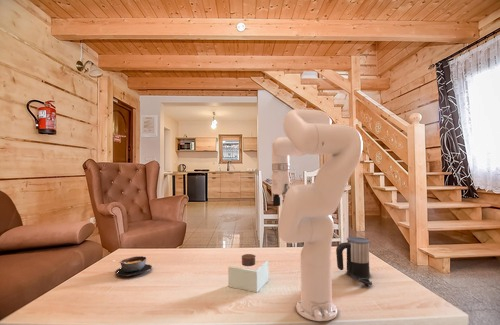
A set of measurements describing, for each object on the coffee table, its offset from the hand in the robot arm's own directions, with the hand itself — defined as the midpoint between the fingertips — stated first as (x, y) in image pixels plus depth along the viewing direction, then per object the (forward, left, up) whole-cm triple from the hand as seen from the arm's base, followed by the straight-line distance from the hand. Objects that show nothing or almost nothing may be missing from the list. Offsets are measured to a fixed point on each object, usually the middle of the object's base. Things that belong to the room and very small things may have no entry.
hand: (281, 207), depth 115 cm
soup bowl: (+1, +66, -28) cm, 72 cm away
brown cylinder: (-10, +14, -21) cm, 27 cm away
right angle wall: (-10, +14, -28) cm, 33 cm away
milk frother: (-6, -31, -28) cm, 43 cm away
